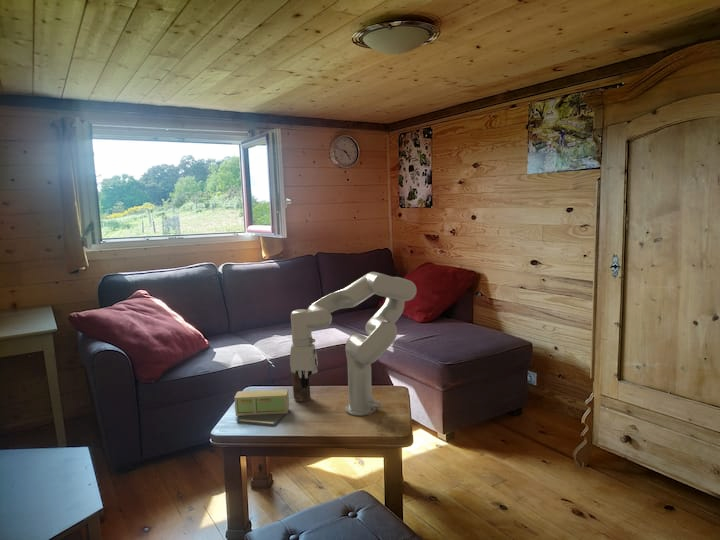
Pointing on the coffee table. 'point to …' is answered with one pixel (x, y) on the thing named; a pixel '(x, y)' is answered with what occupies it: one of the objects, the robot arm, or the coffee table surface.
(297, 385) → the brown rounded cylinder
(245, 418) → the mat
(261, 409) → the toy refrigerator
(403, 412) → the coffee table surface
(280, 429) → the coffee table surface
